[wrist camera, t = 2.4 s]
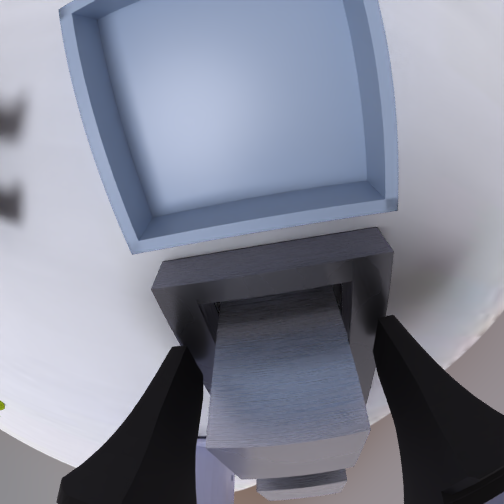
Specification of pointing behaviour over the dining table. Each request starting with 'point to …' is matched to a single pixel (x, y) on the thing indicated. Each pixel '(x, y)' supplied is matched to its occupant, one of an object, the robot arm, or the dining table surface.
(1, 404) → the toy
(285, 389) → the light grey block
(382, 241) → the dark grey rectangular frame
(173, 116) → the tray
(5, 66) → the dining table surface
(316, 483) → the grey rectangular block
